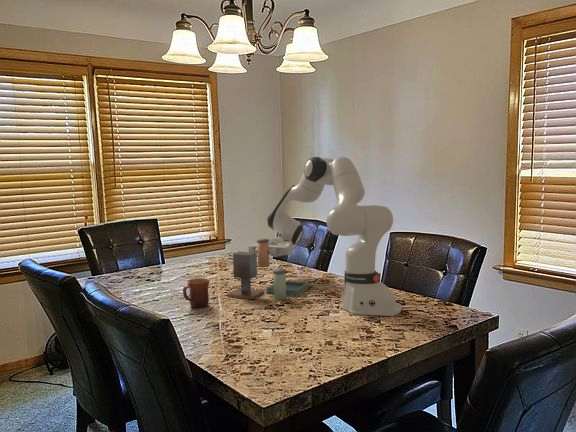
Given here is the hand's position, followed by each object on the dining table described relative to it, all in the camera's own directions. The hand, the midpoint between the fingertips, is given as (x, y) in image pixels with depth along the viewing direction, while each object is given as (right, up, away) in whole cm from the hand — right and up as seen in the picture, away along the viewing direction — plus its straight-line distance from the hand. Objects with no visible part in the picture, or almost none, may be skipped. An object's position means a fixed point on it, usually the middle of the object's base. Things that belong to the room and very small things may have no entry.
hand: (262, 252), depth 212 cm
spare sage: (+8, -18, -14) cm, 25 cm away
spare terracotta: (+1, -6, +1) cm, 7 cm away
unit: (-6, -18, -8) cm, 21 cm away
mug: (-25, -20, -24) cm, 40 cm away
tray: (+12, -17, -2) cm, 20 cm away
